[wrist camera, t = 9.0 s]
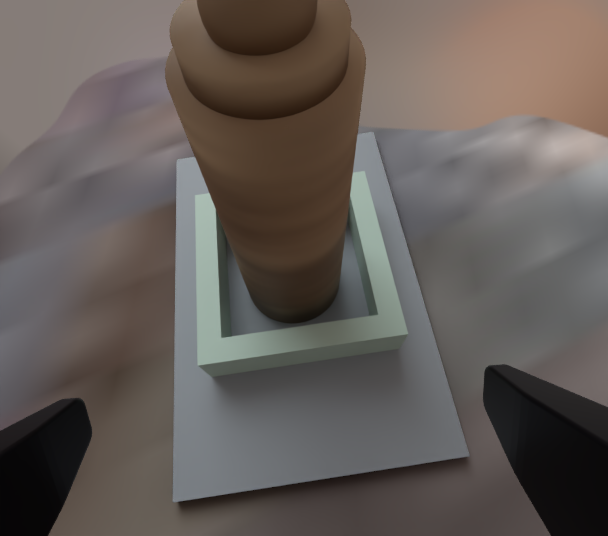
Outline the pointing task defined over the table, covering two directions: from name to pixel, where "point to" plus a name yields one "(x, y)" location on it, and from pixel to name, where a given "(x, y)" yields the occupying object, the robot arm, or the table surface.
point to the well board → (304, 357)
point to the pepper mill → (273, 137)
